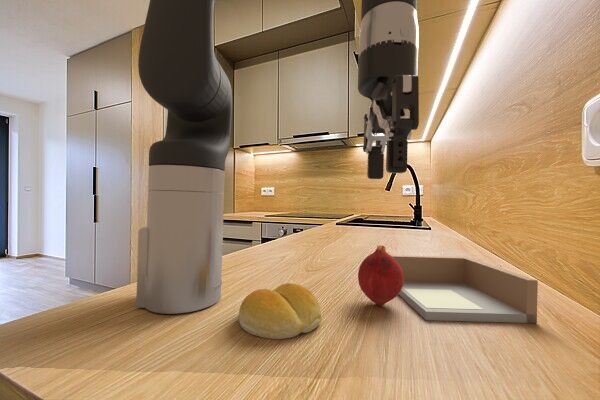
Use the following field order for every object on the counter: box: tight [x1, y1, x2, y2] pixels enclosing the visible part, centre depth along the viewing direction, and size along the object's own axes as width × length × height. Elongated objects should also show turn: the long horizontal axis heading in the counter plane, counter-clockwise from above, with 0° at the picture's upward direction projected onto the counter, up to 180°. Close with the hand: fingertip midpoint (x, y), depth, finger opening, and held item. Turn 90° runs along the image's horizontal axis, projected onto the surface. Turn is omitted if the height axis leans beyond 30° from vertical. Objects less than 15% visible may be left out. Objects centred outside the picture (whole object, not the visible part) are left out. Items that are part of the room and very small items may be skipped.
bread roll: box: [237, 282, 323, 340], centre depth 29 cm, size 8×9×4 cm
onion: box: [357, 244, 404, 306], centre depth 35 cm, size 6×6×8 cm
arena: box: [390, 254, 539, 324], centre depth 37 cm, size 13×13×5 cm
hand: (384, 176), depth 35 cm, fingers open, 8 cm apart
